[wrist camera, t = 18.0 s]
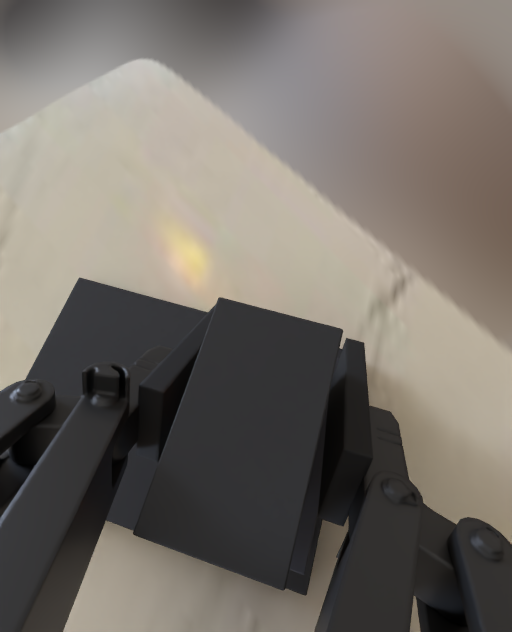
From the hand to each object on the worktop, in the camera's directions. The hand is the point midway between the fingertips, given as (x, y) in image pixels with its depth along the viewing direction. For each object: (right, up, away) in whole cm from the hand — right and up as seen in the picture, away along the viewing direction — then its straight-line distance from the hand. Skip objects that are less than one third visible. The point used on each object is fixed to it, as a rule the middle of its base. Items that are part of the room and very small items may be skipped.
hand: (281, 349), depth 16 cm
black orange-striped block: (-1, -5, +3) cm, 6 cm away
